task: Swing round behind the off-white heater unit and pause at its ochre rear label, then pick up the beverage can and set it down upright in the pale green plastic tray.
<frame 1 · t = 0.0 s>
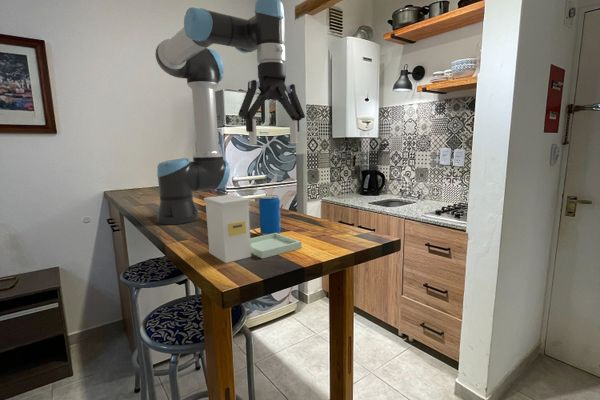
hand: (274, 144, 91), 28 cm above the table, fingers open, 13 cm apart
tray: (269, 247, 90), on the table
heater unit: (229, 254, 85), on the table
beverage can: (270, 234, 104), on the table
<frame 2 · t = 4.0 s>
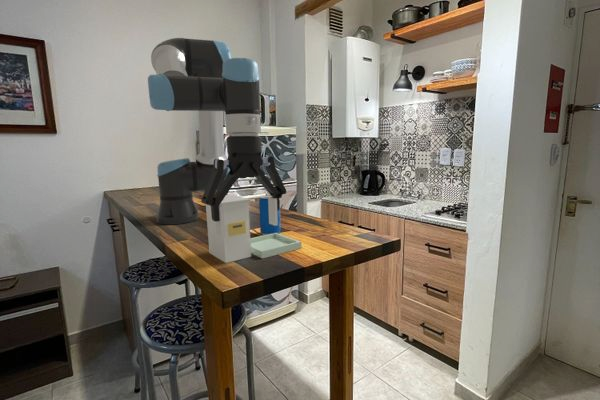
hand: (248, 229, 75), 9 cm above the table, fingers open, 13 cm apart
nothing on the table moved.
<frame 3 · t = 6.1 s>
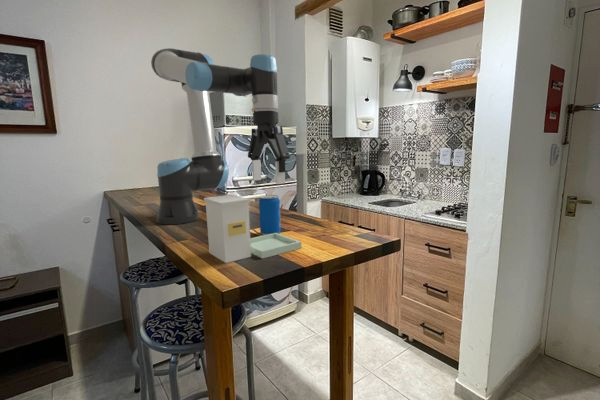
hand: (268, 181, 101), 17 cm above the table, fingers open, 13 cm apart
nothing on the table moved.
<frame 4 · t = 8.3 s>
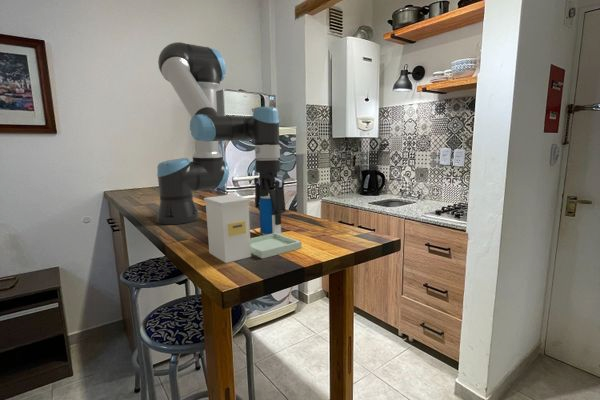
hand: (270, 232, 104), 0 cm above the table, fingers closed on beverage can, 6 cm apart
beverage can: (270, 234, 104), on the table, touching gripper
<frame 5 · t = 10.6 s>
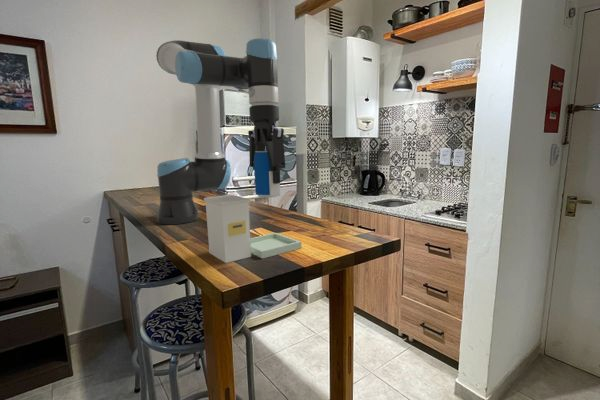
hand: (267, 194, 87), 15 cm above the table, fingers closed on beverage can, 6 cm apart
beverage can: (267, 196, 88), point 14 cm above the table, touching gripper
when the fingers open (3 cm above the table, at t = 13.0 s): beverage can drops 2 cm, resting on tray.
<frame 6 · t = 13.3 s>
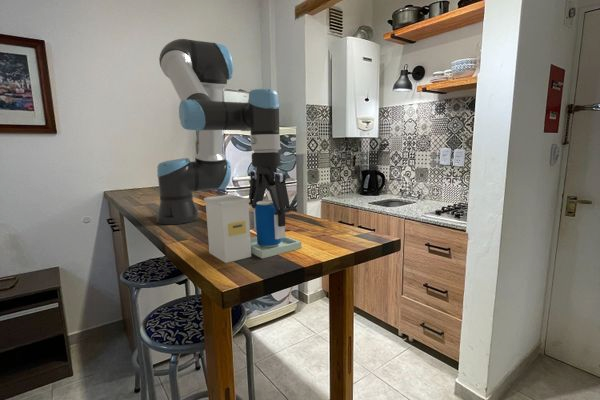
hand: (269, 233, 89), 4 cm above the table, fingers open, 10 cm apart
beverage can: (269, 245, 90), resting on tray
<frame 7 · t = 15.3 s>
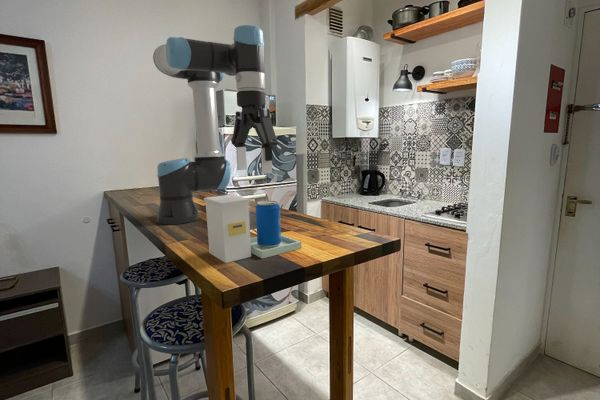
hand: (253, 171, 90), 21 cm above the table, fingers open, 13 cm apart
nothing on the table moved.
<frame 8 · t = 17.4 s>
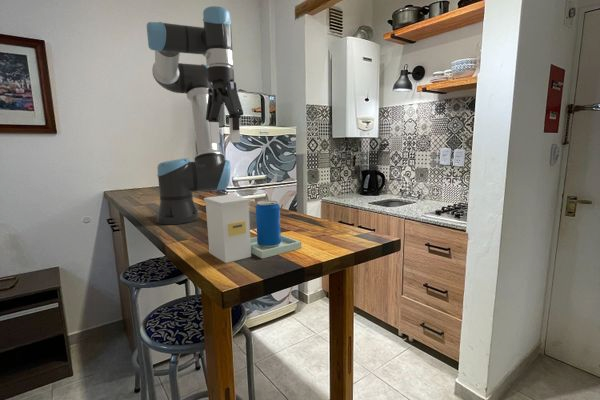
hand: (224, 143, 97), 29 cm above the table, fingers open, 13 cm apart
nothing on the table moved.
at the end: beverage can inside the target area on the tray (0.3 cm from its centre), point 0.4 cm above the tray's base; beverage can tilted 0°; the gripper is holding nothing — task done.
